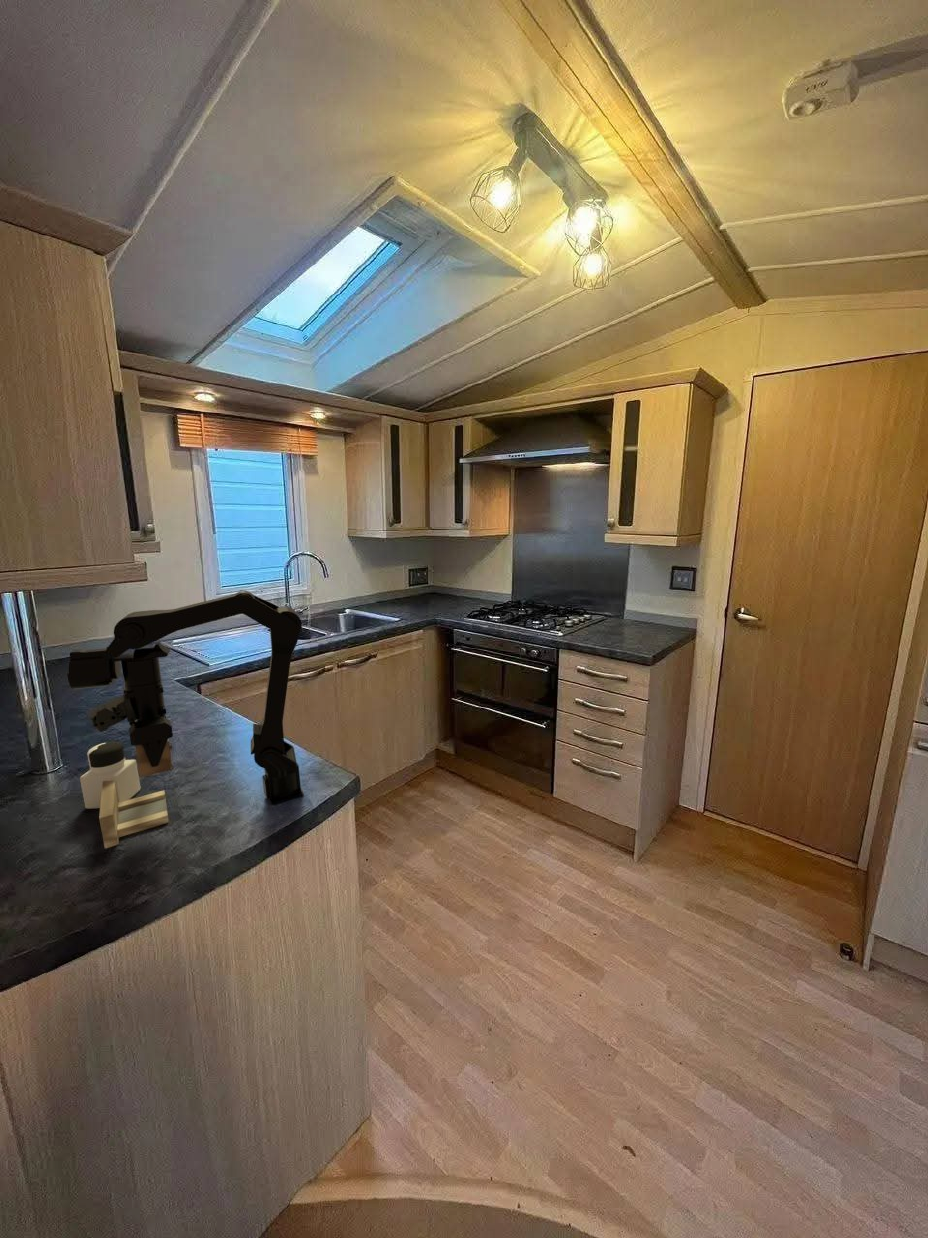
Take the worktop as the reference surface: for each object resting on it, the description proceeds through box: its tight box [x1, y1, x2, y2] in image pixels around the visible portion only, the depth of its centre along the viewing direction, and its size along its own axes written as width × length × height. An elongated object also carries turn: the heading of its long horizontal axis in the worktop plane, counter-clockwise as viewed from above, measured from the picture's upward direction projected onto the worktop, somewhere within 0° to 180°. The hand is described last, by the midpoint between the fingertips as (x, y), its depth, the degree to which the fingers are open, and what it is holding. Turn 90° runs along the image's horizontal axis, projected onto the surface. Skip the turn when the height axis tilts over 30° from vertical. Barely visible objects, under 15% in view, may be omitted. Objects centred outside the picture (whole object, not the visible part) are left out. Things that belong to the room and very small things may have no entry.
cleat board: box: [98, 781, 169, 850], centre depth 98 cm, size 10×16×6 cm, turn 33°
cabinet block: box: [134, 738, 173, 778], centre depth 95 cm, size 6×5×6 cm
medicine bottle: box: [79, 741, 142, 810], centre depth 104 cm, size 7×7×12 cm
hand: (153, 760), depth 95 cm, fingers closed on cabinet block, 5 cm apart
